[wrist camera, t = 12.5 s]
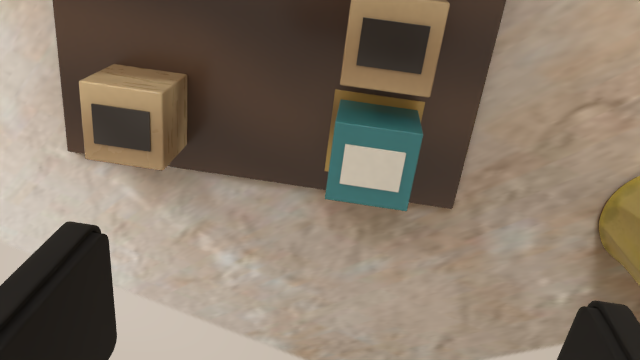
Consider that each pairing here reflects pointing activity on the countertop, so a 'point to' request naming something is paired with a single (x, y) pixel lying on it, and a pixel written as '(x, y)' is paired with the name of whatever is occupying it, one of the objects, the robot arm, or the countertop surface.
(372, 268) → the countertop surface
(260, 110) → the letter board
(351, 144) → the tile
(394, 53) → the tile
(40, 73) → the countertop surface
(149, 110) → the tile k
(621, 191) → the vase
